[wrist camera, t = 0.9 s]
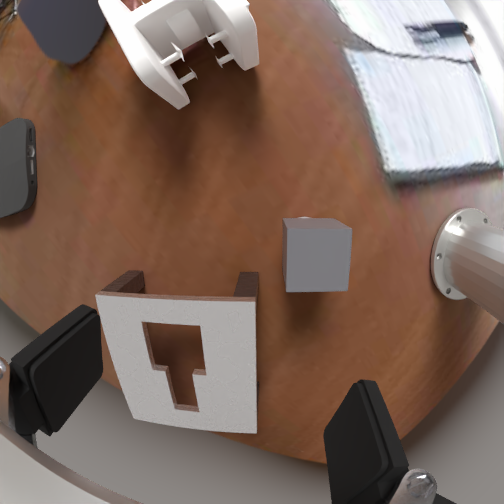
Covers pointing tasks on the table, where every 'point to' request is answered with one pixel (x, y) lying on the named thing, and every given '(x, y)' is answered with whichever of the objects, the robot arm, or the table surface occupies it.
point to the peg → (316, 254)
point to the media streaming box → (17, 166)
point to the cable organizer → (180, 38)
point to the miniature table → (214, 347)
